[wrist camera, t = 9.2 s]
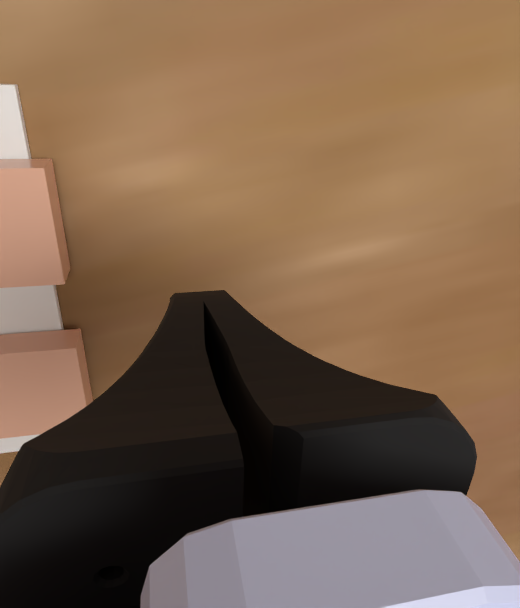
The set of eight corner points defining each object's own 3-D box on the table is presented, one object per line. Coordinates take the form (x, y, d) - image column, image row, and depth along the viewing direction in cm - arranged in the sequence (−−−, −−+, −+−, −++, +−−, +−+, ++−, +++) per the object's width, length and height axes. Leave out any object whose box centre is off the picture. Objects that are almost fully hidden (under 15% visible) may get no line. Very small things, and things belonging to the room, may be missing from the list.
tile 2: (90, 428, 22) (-52, 444, 21) (94, 404, 24) (-38, 417, 23) (76, 348, 20) (-83, 361, 19) (81, 326, 22) (-66, 337, 20)
